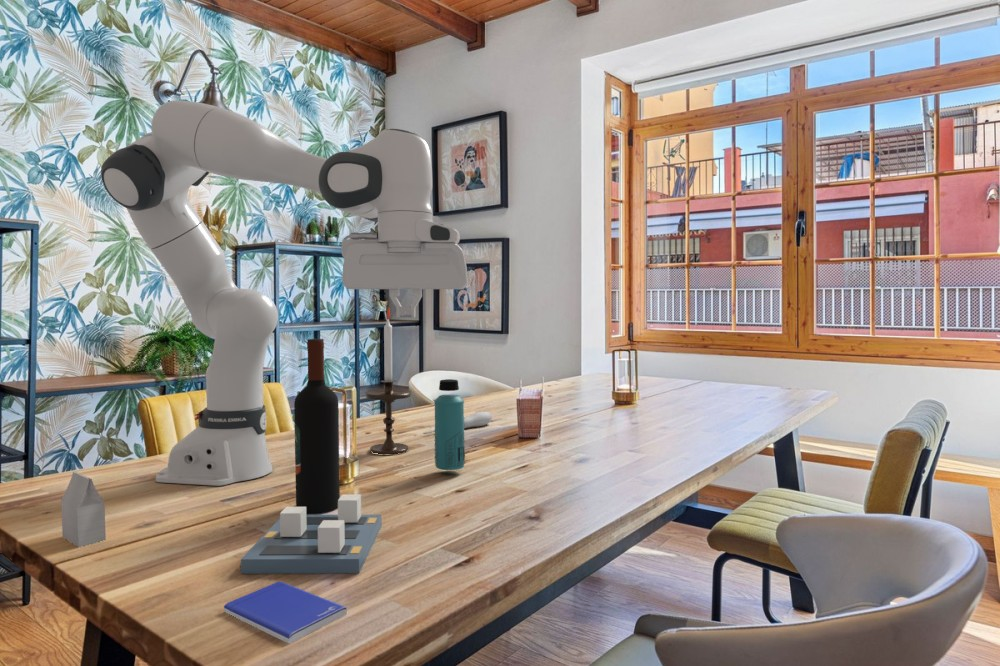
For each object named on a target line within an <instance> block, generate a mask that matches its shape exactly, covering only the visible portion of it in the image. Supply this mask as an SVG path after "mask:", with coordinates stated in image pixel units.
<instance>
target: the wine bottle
mask: <svg viewBox="0 0 1000 666" xmlns="http://www.w3.org/2000/svg"><path fill="white" fill-rule="evenodd" d="M306 340H307V343H306V349H307V383H306V386H305V387H304V388H303V389H302V390H301V391H299V393H298V394H297V395H296V396H295V398H294V402H293V405H294V406H293V409H294V411H293V413H294V450H295V451H294V458H295V459H294V462H295V463H294V465H295V468H294V469H295V473H294V474H295V475H294V476H295V507H306V515H322V514H326V513H329V512H334V511H336V510H338V500H339V498H340V497H341V496H340V495H341V492H340V490H341V489H340V488H341V487H340V483H341V482H340V436H339V435H340V430H339V429H340V423H339V422H340V421H339V416H340V415H339V398H338V395H337V394H336V393H335V391H334V390H332V389H331V388H329V386H327V385H326V381H325V355H324V354H325V353H324V351H325V342H324V341H325V340H324V339H323V338H308V339H306Z"/></svg>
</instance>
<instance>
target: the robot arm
mask: <svg viewBox="0 0 1000 666" xmlns="http://www.w3.org/2000/svg"><path fill="white" fill-rule="evenodd" d="M150 127H151V132H148V133H146V134H144V135H142V136H140V138H138V139H136V140H135V141H133V142H131V143H130V144H128V145H127V146H125V147H123V148H120V149H117V150H115V151H114V152H113V153H111V154H110V155H109V156H108V157H107V158H106V159H105V161H104V162H103V163H102V164H101V168H100V176H101V177H100V178H101V182H102V184H103V187H104V189H105V190H106V192H107V193H108V195H109V196H110V197H111V198H112V200H114V201H115V202H116V203H117V204H119V205H121V206H122V207H123V208H125V209H126V210H127V212H128V214H129V216H130V218H131V220H132V223H133V224H134V226H135V228H136V230H137V231H138V233H139V235H140V236H141V238H142V239H143V242H145V244H146V246H148V248H149V249H150V251H151V252H152V254H153V255H154V256H155V258H156V259H157V261H158V262H159V263H160V264H161V266H162V268H163V269H164V270H165V271H166V273H167V275H168V276H169V277H170V279H171V280H172V281H173V284H175V286H176V288H177V290H178V292H179V293H180V296H181V298H182V300H183V302H184V304H185V306H186V309H187V310H188V312H189V314H190V318H191V321H192V324H193V325H194V327H195V328H196V329H197V330H198V331H199V332H201V333H202V334H203V335H205V336H206V337H208V338H210V339H213V340H214V343H213V350H212V356H211V359H210V362H209V364H208V366H207V368H206V372H205V383H206V384H205V385H206V386H205V387H206V407H205V408H204V409H202V410H200V411H199V412H197V413H195V414H194V417H195V418H194V420H195V421H198V426H197V427H196V428H195V429H193V430H192V431H191V432H189V433H188V434H187V435H185V436H184V437H183V438H182V439H181V440H179V441H178V442H176V443H175V445H173V447H172V448H171V450H170V451H169V455H168V460H167V461H168V462H167V467H165V468H163V469H161V470H160V471H159V472H157V473H156V475H155V482H157V483H166V484H167V483H168V484H184V485H202V486H214V487H215V486H217V487H218V486H219V487H221V486H226V485H229V484H233V483H237V482H243V481H249V480H253V479H258V478H260V477H261V478H262V477H263V476H266V475H268V474H271V473H272V472H273V469H274V468H273V466H272V463H271V460H270V455H269V451H268V447H267V446H268V445H267V438H266V430H267V413H266V412H267V411H266V405H265V404H264V365H265V359H266V355H267V349H268V346H269V341H270V337H271V335H272V333H273V332H274V331H275V329H276V327H277V326H278V325H277V324H278V322H279V321H278V320H279V311H278V308H277V306H276V304H275V302H274V301H273V300H272V299H271V298H270V297H268V295H265V294H263V293H262V292H260V291H257V290H254V289H251V288H239V287H238V286H237V285H236V283H235V282H234V280H233V278H232V276H231V273H230V270H229V268H228V266H227V262H226V254H225V252H224V250H223V249H222V247H221V246H220V244H219V243H218V241H216V239H215V237H214V236H213V234H212V233H211V231H210V229H208V227H207V226H206V224H205V222H204V221H203V220H202V218H201V217H200V215H199V214H198V212H197V211H196V209H194V207H193V206H192V203H190V200H189V195H188V192H189V189H190V188H191V187H192V186H193V187H198V186H199V185H201V184H202V182H203V180H204V179H206V177H207V176H208V175H209V174H214V175H215V176H216V175H217V176H221V177H225V178H229V179H230V178H232V179H235V180H236V179H237V180H242V181H243V180H244V181H245V180H246V181H251V182H253V181H254V182H262V183H263V182H264V183H273V184H281V185H289V186H295V187H298V188H302V189H306V190H309V191H311V192H315V193H319V194H321V196H322V198H323V199H324V201H325V202H327V204H329V205H330V206H332V207H333V208H335V209H336V210H339V211H342V212H345V213H348V214H352V215H354V216H359V217H361V218H364V219H365V220H367V221H369V222H375V223H377V232H370V231H369V232H368V231H367V232H354V231H353V232H351V233H349V234H348V235H346V236H344V238H342V241H341V245H340V246H341V250H340V251H341V256H342V258H343V263H342V264H343V265H342V276H341V282H342V285H343V286H344V287H345V288H346V289H347V290H389V298H390V299H391V301H392V303H393V304H394V307H395V308H396V318H398V319H399V318H401V319H402V318H404V319H405V318H408V319H409V318H411V319H412V318H413V319H414V318H415V319H416V314H417V312H416V311H417V310H416V309H417V308H416V307H417V306H418V304H419V303H420V301H421V299H422V298H423V290H464V289H465V288H466V287H467V286H468V285H469V282H468V280H469V279H468V278H469V277H468V269H467V262H466V256H465V252H464V250H463V249H462V247H460V245H459V243H460V239H461V235H460V232H459V230H458V229H455V228H453V227H450V226H448V225H447V226H446V225H445V224H442V223H437V222H434V220H433V218H434V217H433V213H434V212H433V209H432V206H431V193H432V191H433V168H432V166H433V165H432V157H431V151H430V147H429V144H428V143H427V141H426V140H425V139H424V138H423V137H421V136H420V135H418V134H417V133H415V132H412V131H409V130H404V129H399V128H389V129H387V128H386V129H383V130H381V131H380V132H379V133H378V135H376V137H375V138H373V139H372V140H369V141H368V142H366V143H364V144H363V145H360V146H358V147H355V148H352V149H348V150H346V151H338V152H335V153H333V154H332V155H331V156H329V157H328V158H325V157H324V156H320V155H316V154H313V153H311V152H308V151H306V150H304V149H301V148H299V147H298V146H296V145H295V144H292V143H291V142H290V141H288V140H286V139H284V138H283V137H281V136H280V135H278V134H276V133H275V132H273V131H272V130H270V129H268V128H266V127H265V126H263V125H261V124H260V123H258V122H256V121H254V120H253V119H250V118H248V117H247V116H244V115H242V114H240V113H239V112H235V111H232V110H230V109H226V108H223V107H220V106H216V105H212V104H208V103H203V102H196V101H190V100H189V101H188V100H180V99H179V100H169V101H166V102H165V103H163V104H161V105H160V106H159V107H158V108H157V109H156V110H155V112H154V114H153V117H152V120H151V126H150ZM401 290H411V291H412V293H411V294H412V295H411V296H412V297H415V298H414V299H413V301H412V303H411V305H410V306H402V304H401V303H400V300H399V298H398V297H400V296H401V295H400V294H401Z"/></svg>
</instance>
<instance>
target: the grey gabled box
mask: <svg viewBox="0 0 1000 666" xmlns="http://www.w3.org/2000/svg"><path fill="white" fill-rule="evenodd" d="M60 502H61V504H60V505H61V526H62V527H61V530H62V531H61V532H62V533H61V534H62V538H63V537H64V538H63V539H65V540H66V539H67V540H66V541H68V542H69V541H70V542H69V543H71V542H72V543H73V544H72V543H71V544H72V545H74V544H75V545H76V547H77V546H78V547H80V548H82V547H81V546H83V547H86V546H85V545H87V546H90V545H89V544H91V545H94V544H93V543H95V544H97V543H96V542H98V543H101V542H100V541H102V542H104V541H103V540H107V539H106V537H107V535H106V510H105V509H106V507H105V501H104V500H103V498H102V496H101V495H100V493H99V492H98V491H97V489H96V487H95V485H94V482H93V479H92V477H91V478H90V477H88V476H87V475H84V474H82V473H79V472H77V471H72V474H71V478H70V481H69V483H68V485H67V488H66V489H65V491H64V494H63V495H62V497H61V500H60ZM75 545H74V546H75ZM78 547H77V548H78Z"/></svg>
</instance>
